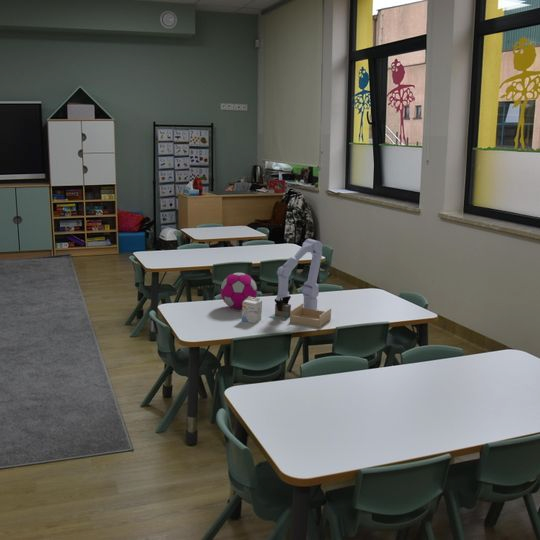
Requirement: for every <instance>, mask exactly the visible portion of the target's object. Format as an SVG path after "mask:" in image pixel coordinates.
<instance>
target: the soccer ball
mask: <svg viewBox="0 0 540 540" xmlns="http://www.w3.org/2000/svg"><path fill="white" fill-rule="evenodd" d="M257 293H258V286H257V283H256V281H255V280H254V279H253V278H252V277H251V276H250V275H249V274H246V273H244V272H234V273H231V274H229V275H228V276H226V277H225V278H224V280H223V281H222V283H221V286H220V296H221V298H222V299H221V300H222V301H223V302H224V303H225V304H226V305H227V306H228V307H230V308H232V309H234V310H235V309H237V310H242V308H243V301H245V300H247V298H248V296H250V297H255V298H257V295H258V294H257ZM252 299H254V298H252Z"/></svg>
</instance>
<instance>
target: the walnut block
mask: <svg viewBox="0 0 540 540" xmlns="http://www.w3.org/2000/svg"><path fill="white" fill-rule="evenodd" d="M291 306H292V304H290V303H288V304H285V303H283V306H282V311H278V309H277V305H276V303H275V305H274V314H275V316H279V317H285V318H288V317H290V311H291V310H292V309H291V308H292V307H291Z"/></svg>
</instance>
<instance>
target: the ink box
mask: <svg viewBox="0 0 540 540" xmlns="http://www.w3.org/2000/svg"><path fill="white" fill-rule="evenodd" d="M252 298H254V299H252ZM262 309H263V300H260V298H259V297H256V298H255V297H250V296H248V298H247V300H245V301H243V308H242V309H241V310H242V311H241V312H242V313H241V321H242V322H247V323H250V324H251V323H252V324H256V323H259V321H261V320H262V312H263V311H262Z"/></svg>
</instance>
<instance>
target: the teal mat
mask: <svg viewBox="0 0 540 540" xmlns="http://www.w3.org/2000/svg"><path fill="white" fill-rule="evenodd" d="M269 318H272V319H275V318H276V319H281V320H286V321H287V320H290V317H288V318H285V317H279V316H275V313H273V314H272V315H270V316H269Z"/></svg>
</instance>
